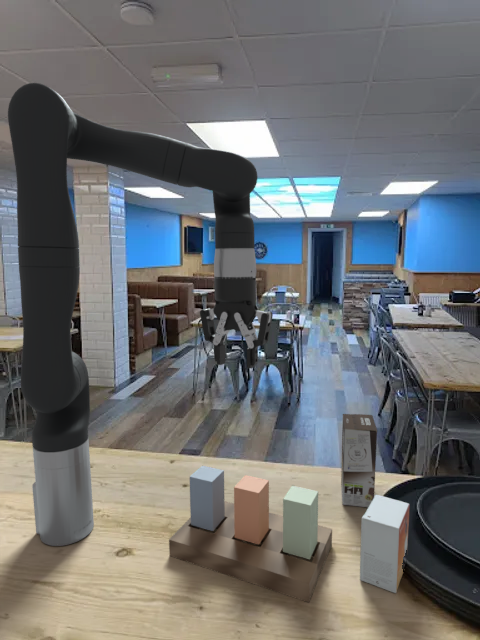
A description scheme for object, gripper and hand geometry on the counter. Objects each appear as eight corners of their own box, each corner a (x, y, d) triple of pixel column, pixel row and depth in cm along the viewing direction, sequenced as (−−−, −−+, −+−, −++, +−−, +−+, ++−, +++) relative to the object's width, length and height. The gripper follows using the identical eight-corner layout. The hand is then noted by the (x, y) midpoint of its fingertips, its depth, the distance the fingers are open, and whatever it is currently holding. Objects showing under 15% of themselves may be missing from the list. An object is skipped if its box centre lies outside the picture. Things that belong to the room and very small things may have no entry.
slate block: (190, 524, 76) (189, 476, 75) (203, 511, 80) (202, 465, 79) (212, 531, 75) (212, 481, 73) (224, 517, 79) (223, 470, 77)
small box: (396, 595, 64) (399, 529, 63) (358, 580, 67) (360, 517, 66) (407, 563, 71) (410, 502, 70) (373, 551, 74) (375, 493, 72)
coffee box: (375, 508, 86) (378, 430, 84) (341, 505, 88) (343, 428, 85) (370, 485, 95) (373, 414, 93) (340, 482, 96) (342, 412, 94)
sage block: (282, 551, 69) (283, 498, 68) (291, 535, 73) (292, 485, 72) (309, 559, 68) (310, 505, 66) (317, 542, 71) (318, 491, 70)
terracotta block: (234, 537, 73) (234, 487, 72) (245, 523, 77) (245, 475, 76) (258, 544, 71) (258, 493, 70) (268, 529, 75) (268, 480, 74)
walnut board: (169, 555, 73) (169, 539, 73) (210, 511, 86) (209, 497, 85) (308, 602, 63) (309, 583, 63) (331, 544, 76) (332, 528, 75)
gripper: (189, 274, 78) (192, 366, 81) (264, 275, 72) (264, 375, 75) (210, 273, 85) (211, 358, 88) (279, 273, 79) (279, 365, 82)
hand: (236, 365), depth 81 cm, fingers open, 5 cm apart
